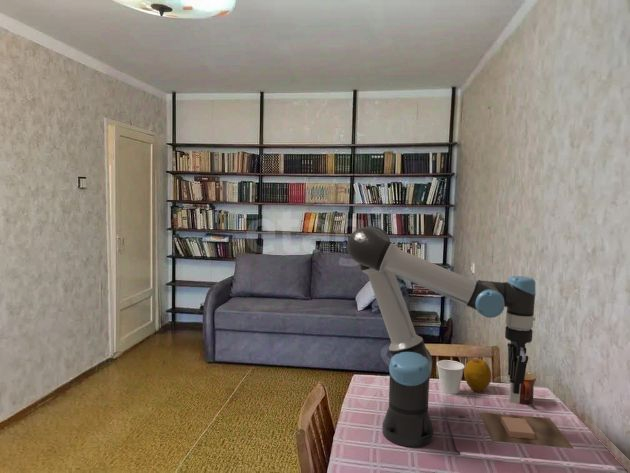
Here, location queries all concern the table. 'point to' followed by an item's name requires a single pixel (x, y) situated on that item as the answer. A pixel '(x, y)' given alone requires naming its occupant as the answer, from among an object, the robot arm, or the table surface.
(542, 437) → the board
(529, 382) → the mug
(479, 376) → the apple
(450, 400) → the table surface
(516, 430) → the tile
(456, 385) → the cup
